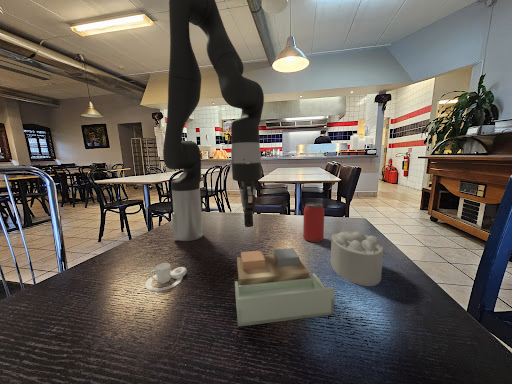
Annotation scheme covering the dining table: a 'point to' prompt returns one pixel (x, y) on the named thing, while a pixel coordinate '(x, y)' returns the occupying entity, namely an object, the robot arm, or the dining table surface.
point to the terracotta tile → (252, 260)
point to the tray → (283, 301)
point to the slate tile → (285, 257)
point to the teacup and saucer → (165, 276)
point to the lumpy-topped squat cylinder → (357, 257)
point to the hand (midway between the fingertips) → (248, 226)
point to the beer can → (313, 222)
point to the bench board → (270, 272)
